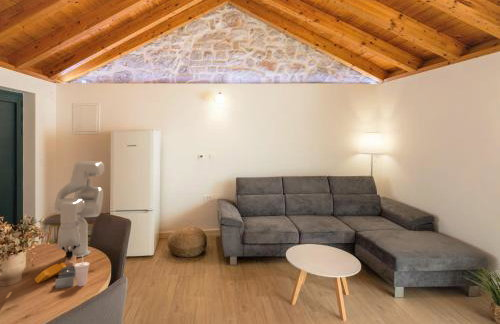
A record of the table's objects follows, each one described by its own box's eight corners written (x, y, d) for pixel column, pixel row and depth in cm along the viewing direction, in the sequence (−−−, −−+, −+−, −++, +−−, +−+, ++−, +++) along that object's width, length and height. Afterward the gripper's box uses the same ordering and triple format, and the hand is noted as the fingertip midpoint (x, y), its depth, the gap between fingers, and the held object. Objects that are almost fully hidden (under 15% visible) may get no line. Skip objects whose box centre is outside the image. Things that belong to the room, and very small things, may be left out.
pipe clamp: (53, 267, 156) (61, 259, 155) (58, 274, 155) (66, 266, 154) (32, 276, 144) (40, 268, 143) (37, 283, 143) (45, 275, 142)
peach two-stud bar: (67, 265, 168) (68, 255, 167) (76, 264, 169) (76, 254, 169) (63, 273, 156) (63, 262, 156) (72, 272, 158) (72, 262, 158)
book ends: (59, 275, 153) (60, 267, 153) (75, 273, 156) (75, 265, 156) (55, 288, 138) (55, 280, 138) (73, 286, 141) (73, 277, 141)
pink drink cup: (78, 288, 139) (78, 258, 138) (71, 285, 142) (71, 255, 142) (92, 283, 144) (92, 254, 144) (84, 280, 148) (85, 252, 147)
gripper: (85, 221, 168) (85, 253, 169) (53, 224, 161) (53, 257, 163) (84, 225, 161) (84, 258, 163) (51, 228, 155) (51, 263, 156)
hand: (69, 258), depth 163 cm, fingers closed
